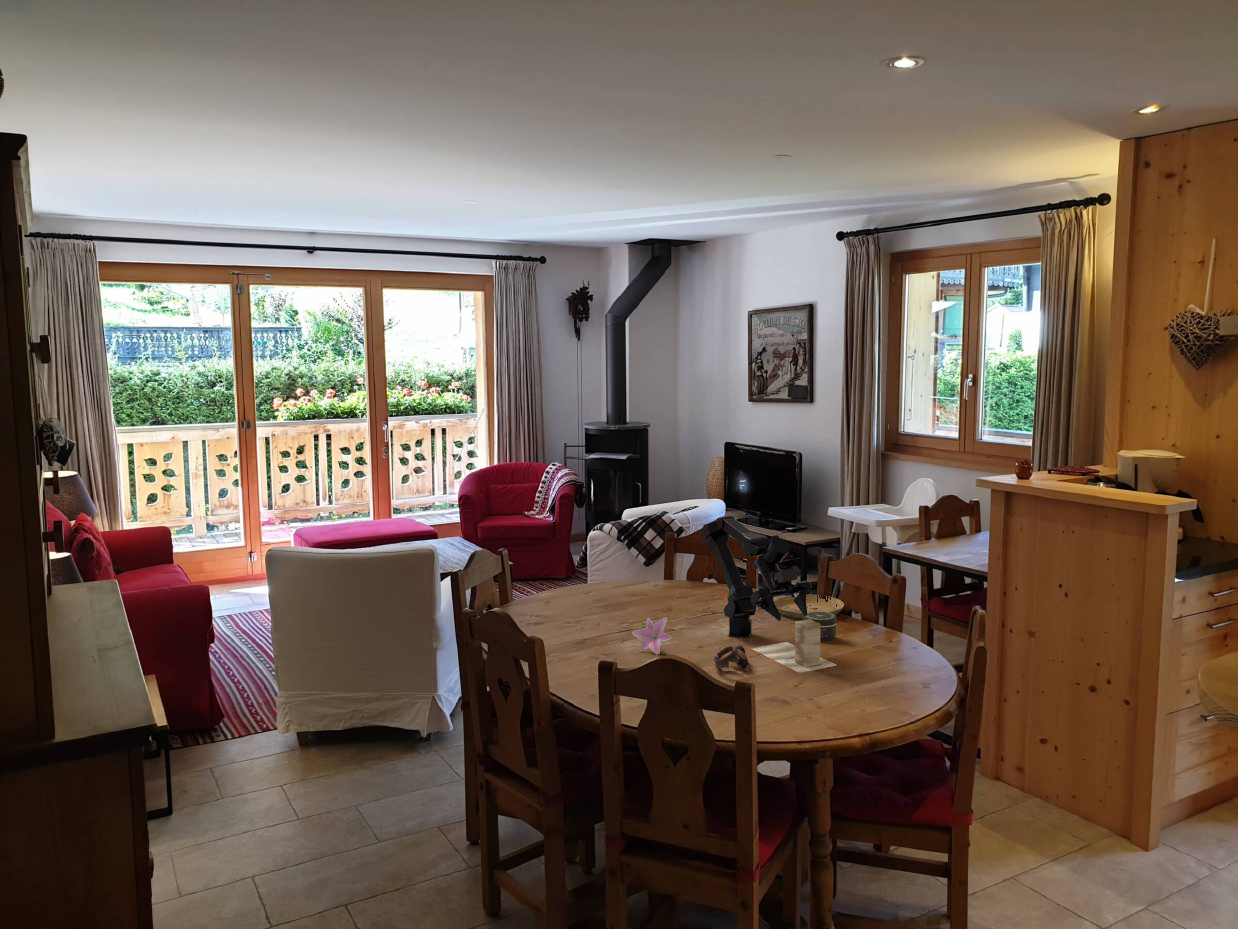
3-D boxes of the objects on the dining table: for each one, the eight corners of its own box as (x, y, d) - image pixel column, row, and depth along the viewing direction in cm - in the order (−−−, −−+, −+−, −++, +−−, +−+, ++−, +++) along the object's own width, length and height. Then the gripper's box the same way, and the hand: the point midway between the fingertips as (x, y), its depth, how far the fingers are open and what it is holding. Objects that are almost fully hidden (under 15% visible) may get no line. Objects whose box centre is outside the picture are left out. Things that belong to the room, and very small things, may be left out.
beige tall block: (795, 662, 259) (795, 621, 257) (808, 659, 261) (808, 619, 259) (806, 667, 254) (806, 626, 253) (820, 665, 256) (820, 623, 255)
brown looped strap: (749, 681, 249) (733, 656, 248) (721, 690, 254) (705, 666, 253) (760, 657, 259) (745, 633, 258) (733, 666, 264) (718, 643, 263)
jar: (836, 644, 277) (837, 620, 276) (803, 643, 279) (803, 619, 278) (835, 634, 286) (836, 611, 286) (803, 633, 288) (803, 610, 288)
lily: (629, 649, 280) (624, 627, 275) (659, 629, 285) (654, 607, 279) (653, 670, 272) (648, 648, 266) (683, 649, 276) (679, 627, 271)
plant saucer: (759, 608, 319) (759, 599, 318) (815, 599, 328) (815, 590, 328) (799, 626, 297) (799, 616, 296) (858, 616, 307) (858, 606, 306)
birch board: (750, 651, 272) (750, 648, 272) (786, 645, 277) (786, 641, 277) (799, 676, 250) (799, 672, 250) (837, 668, 256) (837, 665, 256)
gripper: (755, 561, 261) (778, 607, 252) (808, 554, 269) (831, 598, 260) (740, 582, 269) (762, 628, 260) (792, 574, 277) (814, 618, 268)
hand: (793, 617), depth 262 cm, fingers open, 9 cm apart
